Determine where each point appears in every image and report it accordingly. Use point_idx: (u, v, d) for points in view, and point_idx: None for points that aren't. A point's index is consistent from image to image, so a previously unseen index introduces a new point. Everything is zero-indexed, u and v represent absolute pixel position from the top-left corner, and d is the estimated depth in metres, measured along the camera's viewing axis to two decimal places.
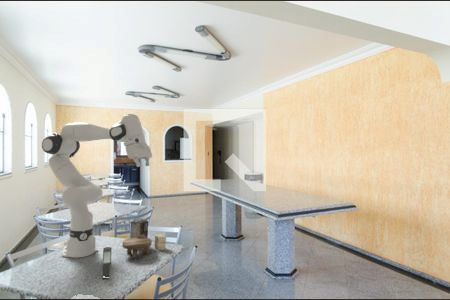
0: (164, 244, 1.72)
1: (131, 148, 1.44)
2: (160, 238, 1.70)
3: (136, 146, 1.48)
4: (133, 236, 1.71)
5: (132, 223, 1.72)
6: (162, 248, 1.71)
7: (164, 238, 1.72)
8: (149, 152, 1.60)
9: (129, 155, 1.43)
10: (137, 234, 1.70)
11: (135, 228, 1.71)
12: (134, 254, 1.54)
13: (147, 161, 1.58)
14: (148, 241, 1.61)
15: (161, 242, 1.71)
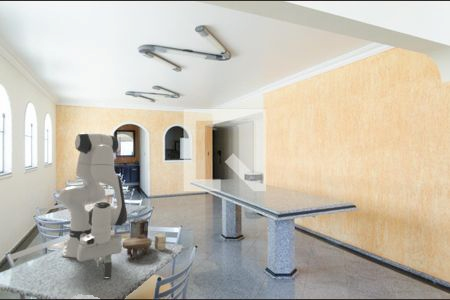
0: (164, 244, 1.72)
1: (79, 251, 1.26)
2: (160, 238, 1.70)
3: (90, 247, 1.28)
4: (133, 236, 1.71)
5: (132, 223, 1.72)
6: (162, 248, 1.71)
7: (164, 238, 1.72)
8: (116, 248, 1.38)
9: (77, 257, 1.27)
10: (137, 234, 1.70)
11: (135, 228, 1.71)
12: (134, 254, 1.54)
13: (101, 260, 1.34)
14: (148, 241, 1.61)
15: (161, 242, 1.71)
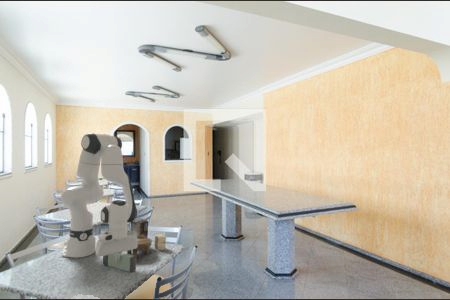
0: (164, 244, 1.72)
1: (98, 246, 1.32)
2: (160, 238, 1.70)
3: (108, 243, 1.34)
4: None
5: (132, 223, 1.72)
6: (162, 248, 1.71)
7: (164, 238, 1.72)
8: (133, 244, 1.43)
9: (96, 252, 1.33)
10: (137, 234, 1.70)
11: (135, 228, 1.71)
12: (134, 254, 1.54)
13: (118, 256, 1.39)
14: (148, 241, 1.61)
15: (161, 242, 1.71)
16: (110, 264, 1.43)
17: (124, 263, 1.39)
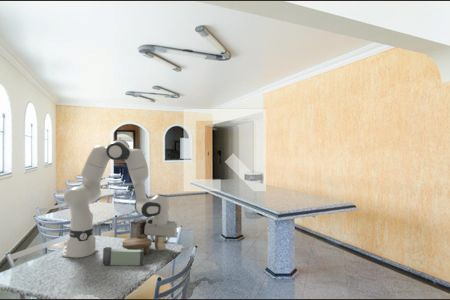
0: (164, 244, 1.72)
1: None
2: (160, 238, 1.70)
3: (151, 226, 1.72)
4: (133, 236, 1.71)
5: (132, 223, 1.72)
6: (162, 248, 1.71)
7: (164, 238, 1.72)
8: (171, 232, 1.71)
9: None
10: (137, 234, 1.70)
11: (135, 228, 1.71)
12: None
13: (167, 239, 1.72)
14: (148, 241, 1.61)
15: (161, 242, 1.71)
16: (114, 263, 1.45)
17: (133, 258, 1.46)
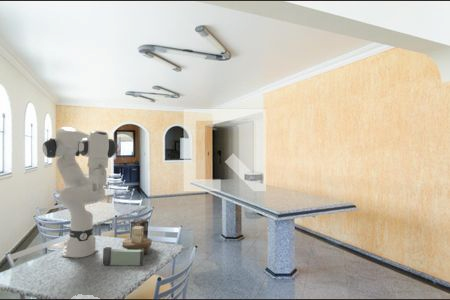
0: (139, 237, 1.58)
1: None
2: (134, 230, 1.58)
3: (91, 170, 1.38)
4: None
5: (132, 223, 1.72)
6: (136, 241, 1.58)
7: (139, 230, 1.58)
8: (97, 178, 1.28)
9: None
10: None
11: None
12: None
13: None
14: (148, 241, 1.61)
15: (135, 234, 1.58)
16: (114, 263, 1.45)
17: (133, 258, 1.46)
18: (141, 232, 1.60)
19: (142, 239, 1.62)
